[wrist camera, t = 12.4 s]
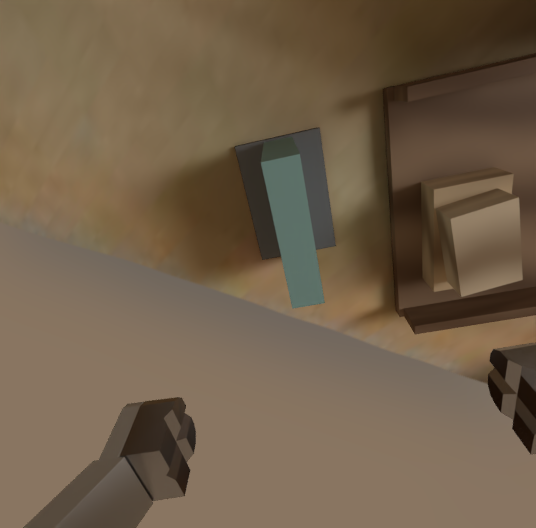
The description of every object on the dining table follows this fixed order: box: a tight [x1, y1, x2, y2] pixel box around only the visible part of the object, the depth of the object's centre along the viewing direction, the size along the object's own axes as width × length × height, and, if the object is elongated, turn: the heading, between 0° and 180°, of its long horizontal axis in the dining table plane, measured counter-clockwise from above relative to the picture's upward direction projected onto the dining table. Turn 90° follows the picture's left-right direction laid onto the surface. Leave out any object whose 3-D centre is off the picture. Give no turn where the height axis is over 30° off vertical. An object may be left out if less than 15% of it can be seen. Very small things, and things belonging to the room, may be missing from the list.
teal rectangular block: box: [261, 136, 325, 308], centre depth 23 cm, size 9×2×8 cm, turn 12°
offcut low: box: [421, 167, 514, 292], centre depth 25 cm, size 8×5×2 cm, turn 12°
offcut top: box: [436, 188, 523, 297], centre depth 23 cm, size 6×4×2 cm, turn 20°
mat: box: [235, 128, 336, 260], centre depth 26 cm, size 9×6×1 cm, turn 12°
